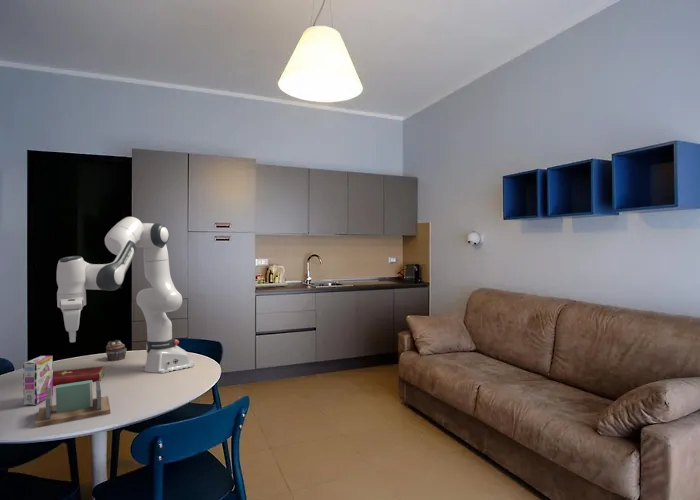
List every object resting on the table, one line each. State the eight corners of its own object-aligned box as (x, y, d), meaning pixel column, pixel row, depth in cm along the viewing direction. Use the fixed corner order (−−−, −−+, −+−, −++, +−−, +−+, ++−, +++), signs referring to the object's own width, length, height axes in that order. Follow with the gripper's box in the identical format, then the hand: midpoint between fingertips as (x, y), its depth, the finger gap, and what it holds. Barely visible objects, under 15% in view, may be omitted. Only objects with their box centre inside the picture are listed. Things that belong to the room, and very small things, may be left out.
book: (56, 410, 159) (56, 385, 158) (92, 403, 164) (92, 379, 164) (56, 413, 156) (55, 388, 155) (92, 406, 161) (92, 382, 161)
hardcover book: (100, 382, 196) (100, 372, 195) (44, 388, 188) (44, 378, 188) (104, 374, 207) (104, 365, 207) (52, 379, 199) (52, 370, 199)
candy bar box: (37, 405, 167) (35, 362, 167) (23, 406, 167) (21, 363, 166) (54, 395, 178) (53, 355, 178) (41, 395, 178) (40, 355, 177)
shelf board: (108, 399, 173) (107, 396, 172) (110, 413, 159) (110, 409, 159) (39, 411, 161) (39, 407, 161) (35, 427, 147) (35, 423, 147)
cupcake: (114, 362, 225) (114, 343, 225) (101, 360, 229) (101, 341, 229) (130, 357, 234) (130, 339, 234) (118, 355, 238) (118, 337, 238)
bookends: (99, 398, 170) (99, 380, 170) (101, 409, 159) (100, 390, 158) (48, 407, 161) (47, 388, 161) (46, 419, 150) (45, 399, 150)
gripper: (62, 298, 166) (63, 335, 166) (60, 305, 149) (61, 346, 149) (82, 297, 169) (82, 333, 170) (82, 304, 152) (83, 343, 152)
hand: (72, 339), depth 159 cm, fingers open, 8 cm apart
